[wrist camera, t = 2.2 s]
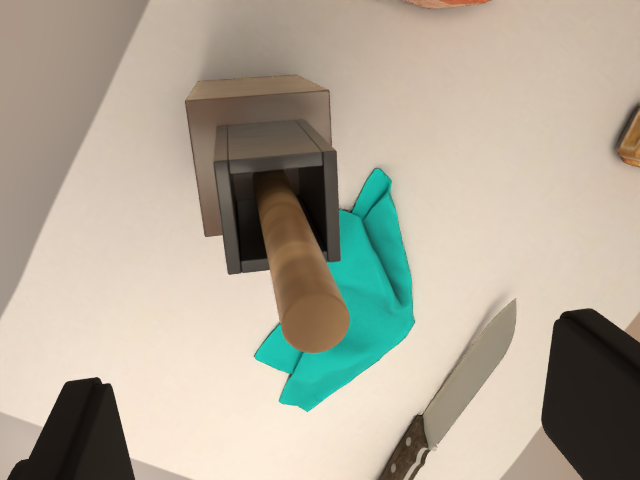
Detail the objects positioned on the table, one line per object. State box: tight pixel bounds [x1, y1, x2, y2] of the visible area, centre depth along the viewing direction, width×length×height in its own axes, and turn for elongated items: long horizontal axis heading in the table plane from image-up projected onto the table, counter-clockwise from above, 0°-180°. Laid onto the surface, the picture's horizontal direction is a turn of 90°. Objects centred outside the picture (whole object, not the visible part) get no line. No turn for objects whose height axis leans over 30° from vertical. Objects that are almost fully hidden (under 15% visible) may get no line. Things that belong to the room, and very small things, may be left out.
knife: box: [381, 298, 516, 480], centre depth 54 cm, size 6×2×30 cm
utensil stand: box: [185, 75, 341, 275], centre depth 32 cm, size 8×8×23 cm
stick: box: [252, 170, 350, 353], centre depth 21 cm, size 2×2×18 cm
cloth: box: [254, 169, 415, 412], centre depth 49 cm, size 26×14×2 cm, turn 151°
